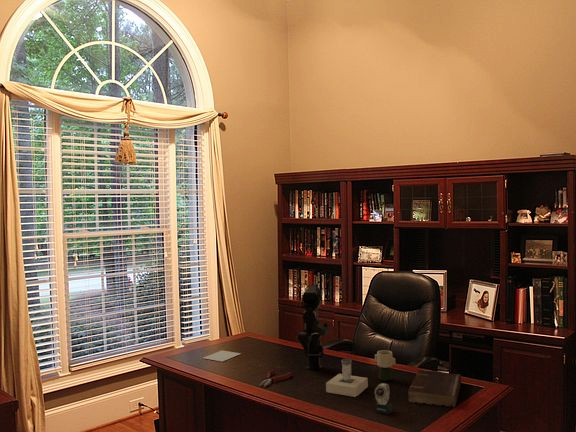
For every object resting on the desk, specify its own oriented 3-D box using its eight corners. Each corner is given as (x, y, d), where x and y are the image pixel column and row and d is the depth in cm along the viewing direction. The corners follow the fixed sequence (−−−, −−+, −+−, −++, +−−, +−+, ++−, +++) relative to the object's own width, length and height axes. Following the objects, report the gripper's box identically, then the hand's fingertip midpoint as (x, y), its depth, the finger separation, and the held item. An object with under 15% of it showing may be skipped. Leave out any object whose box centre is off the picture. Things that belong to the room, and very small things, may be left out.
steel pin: (341, 387, 241) (341, 358, 240) (352, 387, 241) (351, 358, 240) (342, 391, 236) (341, 361, 236) (352, 391, 236) (351, 361, 236)
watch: (372, 413, 210) (372, 386, 210) (381, 407, 217) (380, 380, 217) (386, 416, 207) (385, 388, 207) (394, 409, 214) (393, 382, 214)
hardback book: (455, 408, 215) (455, 396, 215) (408, 402, 222) (408, 390, 222) (461, 384, 242) (461, 373, 241) (419, 380, 249) (418, 369, 249)
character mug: (399, 380, 248) (399, 352, 248) (391, 384, 243) (390, 355, 243) (379, 375, 256) (378, 348, 255) (371, 379, 250) (370, 351, 250)
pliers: (250, 386, 247) (250, 381, 247) (272, 373, 264) (272, 368, 264) (272, 390, 241) (272, 384, 241) (292, 377, 259) (292, 371, 259)
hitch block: (339, 382, 248) (339, 373, 248) (367, 386, 241) (367, 377, 241) (326, 392, 236) (325, 383, 236) (355, 397, 229) (355, 387, 229)
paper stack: (255, 356, 294) (255, 355, 294) (226, 369, 272) (226, 368, 272) (221, 351, 306) (221, 350, 306) (191, 363, 285) (191, 362, 285)
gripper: (317, 324, 242) (318, 358, 242) (334, 315, 258) (335, 347, 259) (295, 321, 247) (296, 355, 248) (313, 313, 264) (314, 345, 264)
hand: (311, 350), depth 254 cm, fingers open, 9 cm apart
